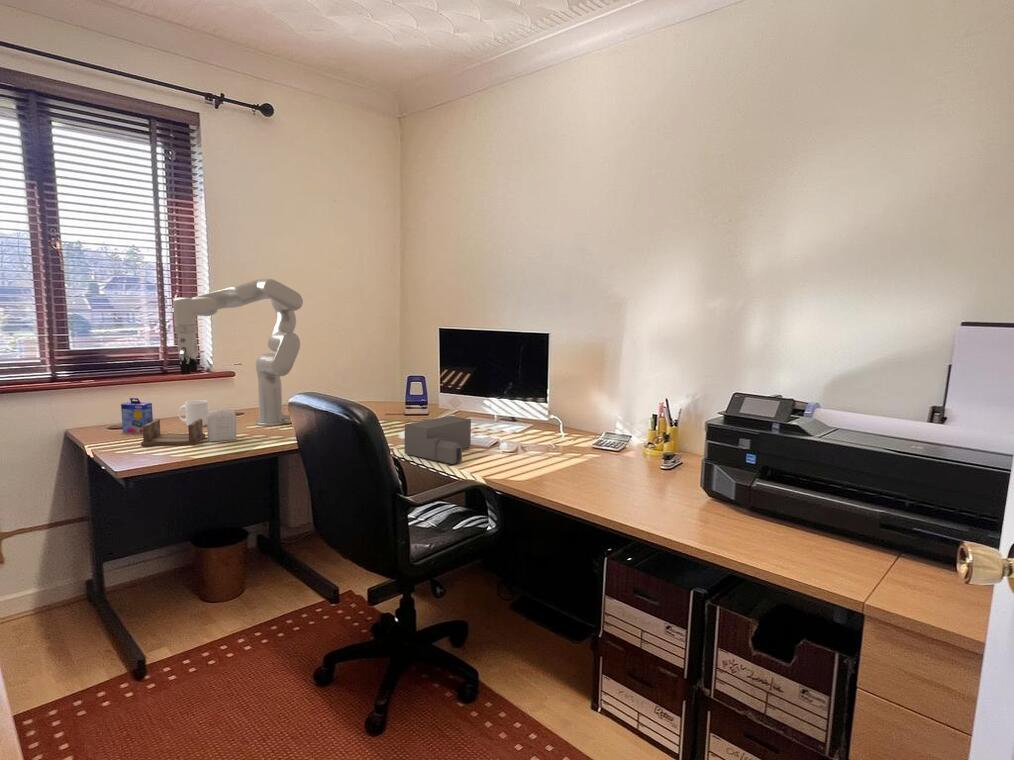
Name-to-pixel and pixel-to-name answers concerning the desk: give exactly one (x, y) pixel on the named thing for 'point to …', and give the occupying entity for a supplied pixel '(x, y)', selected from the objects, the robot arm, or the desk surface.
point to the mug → (195, 411)
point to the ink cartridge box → (135, 416)
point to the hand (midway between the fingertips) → (189, 372)
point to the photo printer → (221, 425)
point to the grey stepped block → (438, 438)
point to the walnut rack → (171, 435)
